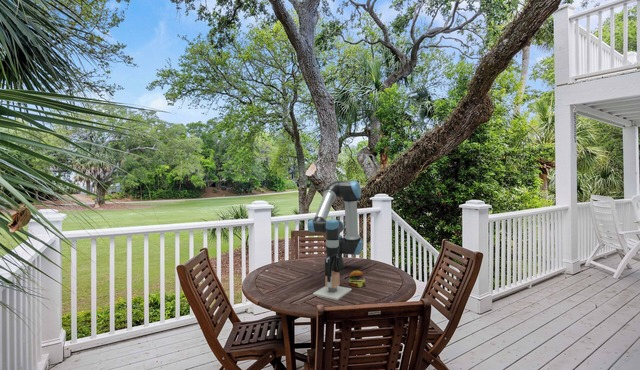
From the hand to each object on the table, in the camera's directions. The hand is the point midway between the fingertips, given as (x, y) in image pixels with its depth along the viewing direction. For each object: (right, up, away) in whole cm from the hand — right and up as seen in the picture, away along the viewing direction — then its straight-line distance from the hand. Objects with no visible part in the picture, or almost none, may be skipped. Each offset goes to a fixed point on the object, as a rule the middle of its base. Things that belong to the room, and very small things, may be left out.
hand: (332, 285), depth 201 cm
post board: (0, -4, 0) cm, 4 cm away
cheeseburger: (+16, -4, +14) cm, 21 cm away
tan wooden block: (0, 0, 0) cm, 0 cm away
